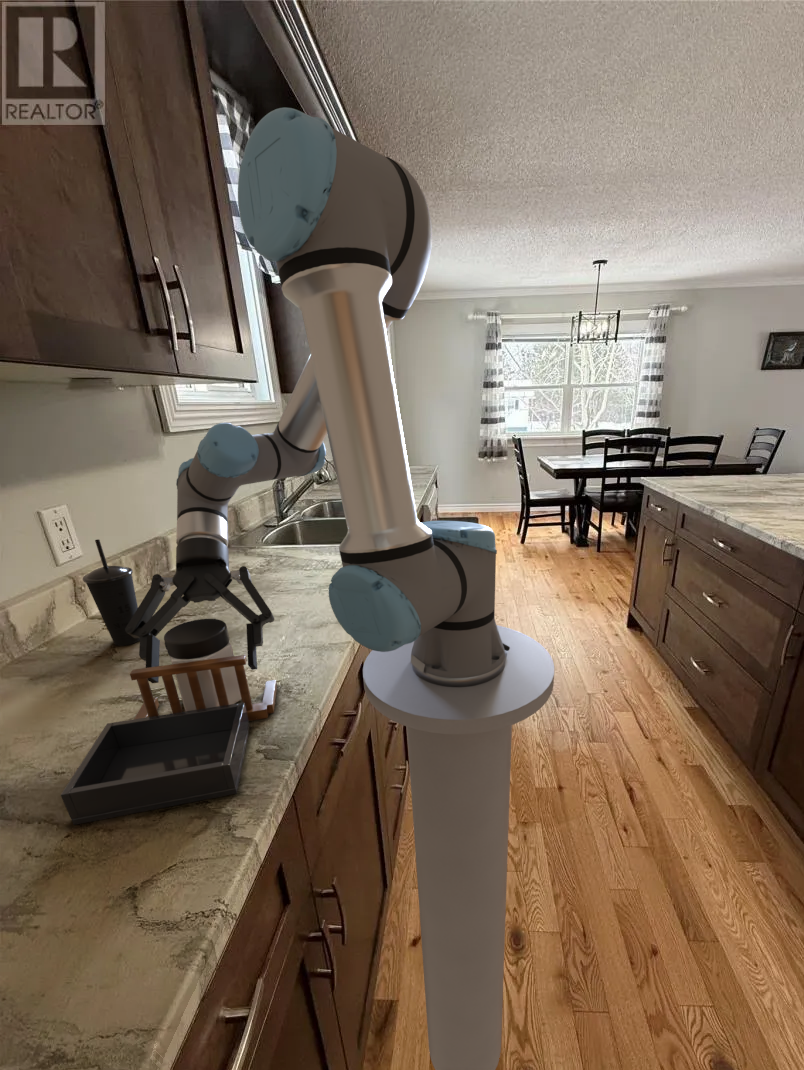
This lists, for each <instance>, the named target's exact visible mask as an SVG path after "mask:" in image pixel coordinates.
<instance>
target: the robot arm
mask: <svg viewBox="0 0 804 1070" xmlns="http://www.w3.org/2000/svg"><path fill="white" fill-rule="evenodd" d="M239 165H240V166H239V172H238V181H237V206H238V213H239V219H240V224H241V226H242V230H243V233H244V235H245V237H246V240H247V241H248V243H249V245H250V246H252V247H253V248H254V251H256V253H257V254H259V255H260V256H262V258H264V259H265V260H267V261H268V262H275V265H276V270H277V273H278V274H277V275H278V279H279V282H280V287H281V292H282V295H283V296H284V298H286V300H288V301H289V302H290V303H292V304H293V305H294V306H295V307H297V308H298V309H299V310H300V312H301V315H302V320H303V324H304V325H303V326H304V328H305V334H306V337H307V339H306V340H307V343H308V348H309V352H310V354H309V356H308V359H307V361H306V363H305V364H304V367H303V369H302V372H301V374H300V375H299V378H298V380H297V382H296V384H295V386H294V389H293V391H292V393H291V395H290V397H289V399H288V402H287V403H286V406H285V408H284V410H283V411H282V415H281V417H280V419H279V421H278V423H277V424H276V426H275V429H274V430H273V432H269V433H258V434H251V433H250V431H248V430H246V429H245V428H244V427H242V426H240V425H235V424H232V423H231V422H219V423H216V424H214V425H212V426H211V427H210V428H209V429H208V431H207V433H206V434H205V436H204V437H203V438H202V439H201V440H200V442H199V444H198V446H197V449H196V452H195V453H194V456H193V457H192V458H189V459H188V460H186V461H183V462H181V464H180V466H179V467H178V473H177V478H176V483H175V484H176V490H177V491H176V493H177V494H176V495H177V496H176V497H177V501H176V538H175V539H176V540H175V541H176V547H175V573H174V575H173V576H162V575H161V574H159V573H155V574H153V576H152V577H151V583H150V588H149V589H148V591H147V593H146V594H145V595H144V597H143V599H142V601H141V602H140V604H139V606H138V609H137V610H136V612H135V614H134V615H133V617H132V619H131V620H130V622H129V623H128V625H127V627H126V629H125V631H126V632H127V633H128V634H129V635H131V636H132V637H134V638H140V641H139V647H138V648H139V649H138V651H139V652H138V656H139V658H140V659H141V660H142V661H144V662H145V668H149V667H157V666H160V652H161V651H160V646H161V640H160V639H159V638H158V637H157V636H158V635H159V634H160V633H161V632H162V630H164V628H165V627H166V626H167V625H168V624H169V623H170V622H171V621H172V619H173V618H175V616H176V615H177V614H178V613H179V612H180V611H181V609H183V608H186V607H187V605H188V604H190V603H191V602H193V604H196V603H202V602H205V601H206V602H207V601H208V602H215V601H216V600H217V599H219V598H221V599H223V600H224V601H225V602H226V603H228V604H229V605H230V606H231V607H232V608H233V609H235V610H236V611H237V612H238V613H239V614H240V615H241V616H243V618H245V619H246V620H247V621H248V622H249V623H246V625H245V626H246V650H247V666H248V667H249V669H251V670H252V671H253V670H258V657H257V648H258V647H263V644H264V631H263V627H264V626H265V625H266V624H269V623H270V624H272V623H273V622H275V616H274V614H273V612H272V610H271V609H270V608H269V606H268V605H267V602H266V601H265V600H264V598H263V597H262V596H261V594H260V592H259V591H258V590H257V588H256V586H255V585H254V583H253V582H252V577H251V573H250V571H249V570H248V567H247V566H245V565H244V566H243V565H242V566H240V567H239V569H238V570H233V571H230V553H229V551H230V550H229V521H228V519H229V518H228V513H229V512H228V509H229V508H228V506H229V502H230V501H231V499H232V498H233V497H234V496H235V494H236V493H237V491H238V489H240V487H242V486H245V485H250V484H257V483H263V482H268V481H269V482H270V481H274V480H282V479H287V478H295V477H305V476H307V475H310V474H314V473H317V472H319V471H320V470H321V469H322V468H324V466H325V464H326V456H327V449H326V446H325V445H326V444H325V443H324V441H325V439H326V437H327V438H328V442H329V447H330V453H331V457H332V461H333V466H334V471H335V476H336V481H337V485H338V489H339V495H340V499H341V503H342V509H343V514H344V518H345V523H346V527H347V528H346V529H347V532H346V535H345V536H344V537H343V540H342V541H341V543H340V544H339V545H338V551H339V555H340V561H341V565H342V567H340V568H339V569H338V570H337V571H336V572H335V573H334V574H333V575H332V577H331V579H330V583H329V585H328V600H329V605H330V607H331V610H332V613H333V614H334V615H333V616H334V617H335V618H336V620H337V622H338V624H339V625H340V627H342V629H343V630H344V631H345V632H346V634H347V635H349V636H350V637H351V638H352V639H353V640H354V641H355V642H356V643H358V644H359V645H361V646H362V647H364V648H366V649H368V650H371V651H372V650H374V651H379V652H388V651H393V650H396V649H398V648H399V647H401V646H403V645H405V644H409V643H412V642H414V644H413V647H412V652H411V662H410V663H411V666H412V669H413V671H414V672H415V674H416V675H417V676H419V677H420V678H421V679H423V680H425V681H427V682H429V683H432V684H436V685H440V686H446V687H469V686H475V685H479V684H483V683H486V682H488V681H490V680H492V679H494V678H496V677H497V676H498V675H499V674H500V673H501V672H502V671H503V669H504V667H505V650H506V651H509V649H510V647H509V646H507V645H505V644H504V643H502V640H501V637H500V634H499V631H498V628H497V625H498V624H497V622H496V619H495V616H496V615H495V614H496V613H495V612H496V611H495V607H496V571H497V570H496V568H497V567H496V566H497V564H496V563H497V560H496V559H497V554H498V550H497V548H496V534H495V532H494V531H493V529H492V528H491V527H489V526H487V525H485V524H480V523H476V522H468V521H461V520H460V521H459V520H429V521H422V522H420V520H419V519H418V514H417V509H416V503H415V495H414V491H413V484H412V478H411V472H410V467H409V460H408V455H407V450H406V449H407V448H406V444H405V443H406V442H405V437H404V430H403V424H402V419H401V413H400V407H399V406H400V405H399V401H398V395H397V389H396V383H395V378H394V371H393V365H392V359H391V353H390V346H389V340H388V335H387V331H388V330H389V329H390V327H391V325H392V323H394V322H396V321H402V320H403V319H404V318H405V317H406V315H407V313H408V312H409V310H410V309H411V306H412V305H413V303H414V301H415V300H416V298H417V295H418V294H419V292H420V289H421V287H422V285H423V283H424V280H425V278H426V277H425V276H426V274H427V271H428V267H429V264H430V259H431V254H432V247H433V226H432V225H433V224H432V219H431V214H430V209H429V208H430V207H429V204H428V201H427V198H426V197H425V194H424V192H423V190H422V187H420V184H419V182H418V181H417V180H416V178H415V177H414V176H413V174H411V172H410V171H409V170H408V169H407V168H406V167H404V166H403V165H402V164H401V163H399V162H398V161H396V160H394V159H393V158H390V157H389V156H385V155H383V154H382V153H380V152H378V151H376V150H374V149H372V148H371V147H369V146H367V145H365V144H363V143H361V142H359V141H357V140H355V139H354V138H352V137H350V136H348V135H346V134H344V133H342V132H341V131H339V130H337V129H335V128H333V127H332V126H331V125H330V124H329V122H328V121H326V120H325V119H324V118H321V117H320V116H311V115H309V114H307V113H305V112H302V111H301V110H298V109H296V108H292V107H279V108H276V109H274V110H271V111H270V112H268V113H266V115H264V116H263V117H262V118H261V119H260V120H259V121H258V123H257V124H256V125H255V126H254V128H253V130H252V131H251V133H250V136H249V137H248V140H247V142H246V145H245V147H244V151H243V156H242V160H241V161H240V164H239ZM233 580H234V581H236V582H237V584H239V585H243V587H244V588H245V590H246V592H247V593H248V595H249V596H250V598H251V599H252V601H253V603H254V604H255V605H256V607H257V608H258V610H259V612H260V614H257V613H256V612H254V610H253V609H251V608H250V607H249V606H248V605H247V604H245V602H243V601H242V600H241V599H240V598H238V596H236V595H235V594H234V593H233V592H232V591H231V590H230V589H229V586H230V585H231V583H232V582H233ZM172 586H175V587H176V588H175V590H173V591H172V592H171V594H170V597H169V598H168V599H167V601H165V602H164V603H163V605H161V606H160V604H161V602H162V601H163V599H164V597H165V595H166V592H170V588H171V587H172ZM158 607H160V608H159V609H158ZM159 678H160V677H153V678H148V681H149V683H151V684H158V683H160V682H159Z"/></svg>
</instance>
